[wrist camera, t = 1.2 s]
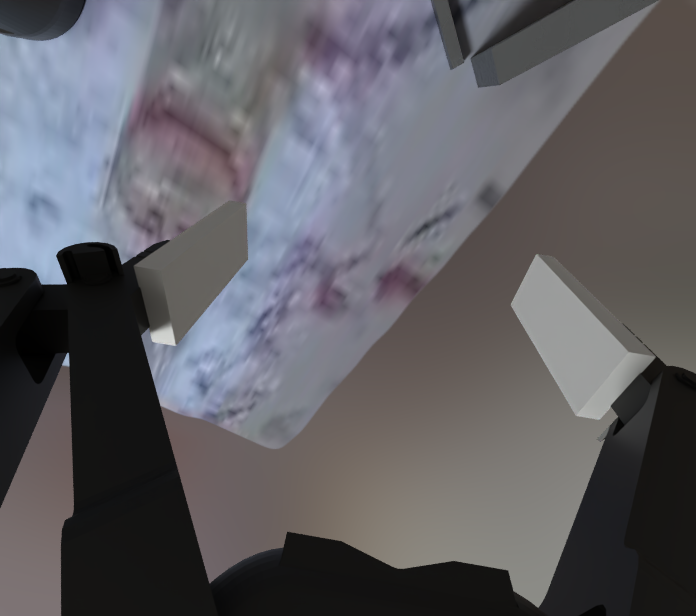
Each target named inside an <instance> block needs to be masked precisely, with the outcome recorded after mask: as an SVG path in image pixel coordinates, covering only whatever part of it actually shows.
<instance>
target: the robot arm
mask: <svg viewBox="0 0 696 616" xmlns="http://www.w3.org/2000/svg"><path fill="white" fill-rule="evenodd" d="M83 4H84V0H0V34H3V35H7V36H11V37H17V38H23V39H29V40H37V41H43V40H50V39H54V38H57V37H59V36H61V35H63V34H64V33H65V32H67V31H68V30H69V29H70V28H71V27H72V26H73V25H74V23H75V22H76V20H77V18H78V17H79V15H80V12H81V10H82V7H83ZM56 257H57V259H58V262H59V264H60V267H61V270H62V272H63V275H64V277H65V280H66V282H67V284H63V285H41V283H40V281H39V278H38V276H37V274H36V273H35V272H34V271H33V270H29V269H26V268H7V269H6V268H1V269H0V508H1V505H2V503H3V501H4V498H5V496H6V494H7V491H8V489H9V487H10V484H11V482H12V479H13V477H14V475H15V473H16V470H17V468H18V465H19V463H20V461H21V459H22V457H23V454H24V452H25V449H26V447H27V445H28V443H29V440H30V438H31V436H32V433H33V431H34V428H35V426H36V424H37V422H38V419H39V417H40V415H41V412H42V410H43V408H44V405H45V403H46V401H47V398H48V396H49V394H50V391H51V389H52V387H53V385H54V382H55V380H56V378H57V375H58V373H59V371H60V368H61V366H62V364H63V361H64V359H65V357H66V354H67V353H69V364H70V392H71V423H72V424H71V425H72V455H73V483H74V484H73V487H74V512H73V516H72V517H70V518H68V519H66V520H65V522H64V526H63V528H62V538H61V616H696V374H695V373H693V372H691V371H688V370H686V369H683V368H679V367H675V366H666V365H665V364H664V363H663V362H662V361H661V360H660V359H659V358H658V357H657V356H656V355H655V354H654V353H653V352H652V351H651V350H650V349H649V348H648V347H647V346H646V345H645V344H642V341H641V340H640V339H639V338H638V337H636V336H634V334H633V333H632V332H631V331H630V330H629V329H628V328H627V327H626V326H625V325H624V324H622V323H621V322H620V321H619V320H618V319H617V318H616V317H615V316H614V315H613V314H612V313H611V312H610V311H608V309H607V308H606V307H604V306H603V305H602V304H601V303H600V302H599V301H598V300H597V299H596V298H595V297H594V296H593V295H592V294H591V293H590V292H589V291H588V290H587V289H586V288H585V287H584V286H583V285H582V284H581V283H580V282H579V281H578V280H577V279H576V278H575V277H574V276H573V275H572V274H571V273H570V272H569V271H567V270H566V269H565V268H564V267H563V266H562V265H561V264H560V263H559V262H558V261H557V260H556V259H555V258H554V257H551V256H546V255H540V254H536V256H535V258H534V260H533V262H532V264H531V266H530V268H529V270H528V272H527V274H526V276H525V278H524V280H523V282H522V284H521V286H520V288H519V290H518V292H517V294H516V296H515V297H514V300H513V302H512V303H511V306H512V308H513V310H514V311H515V313H516V315H517V317H518V318H519V320H520V321H521V323H522V325H523V327H524V328H525V330H526V332H527V333H528V335H529V337H530V338H531V340H532V342H533V344H534V345H535V347H536V349H537V350H538V352H539V354H540V356H541V357H542V359H543V361H544V362H545V364H546V366H547V367H548V369H549V370H550V373H551V374H552V376H553V378H554V379H555V381H556V383H557V384H558V385H559V388H560V389H561V391H562V393H563V395H564V396H565V398H566V399H567V401H568V403H569V405H570V406H571V408H572V410H573V412H574V413H575V415H576V416H581V417H586V418H592V419H598V420H600V419H601V417H602V416H603V415H604V414H605V413H606V412H607V411H608V409H609V408H610V407H612V409H613V410H614V411H615V412H616V414H617V415H618V418H617V419H616V420H615V421H614V422H613V423H612V424H611V425H610V426H609V427H608V428H607V429H606V430H605V431H604V432H603V433H602V434H601V436H600V437H599V438H598V439H597V440H598V441H600V442H601V441H602V440H604V439H605V441H604V444H603V446H602V449H601V451H600V454H599V457H598V459H597V462H596V465H595V467H594V470H593V473H592V475H591V478H590V481H589V483H588V486H587V489H586V491H585V494H584V496H583V499H582V502H581V504H580V507H579V510H578V512H577V515H576V518H575V520H574V523H573V526H572V528H571V531H570V534H569V536H568V539H567V542H566V544H565V547H564V550H563V552H562V555H561V557H560V560H559V563H558V566H557V568H556V571H555V573H554V576H553V579H552V581H551V584H550V586H549V589H548V592H547V594H546V596H545V599H544V600H543V602H542V604H541V605H540V606H539V608H537V607H536V606H535V605H534V604H532V603H531V602H530V601H528V600H527V599H525V598H524V597H522V596H520V595H519V594H517V593H515V592H514V591H513V588H512V584H511V580H510V576H509V573H508V571H507V570H502V569H496V568H491V567H485V566H479V565H474V564H468V563H462V562H457V561H451V562H445V563H438V564H432V565H426V566H419V567H413V568H407V569H397V568H394V567H391V566H390V565H388V564H386V563H383V562H382V561H379V560H378V559H375V558H374V557H371V556H370V555H367V554H365V553H364V552H362V551H359V550H358V549H356V548H354V547H352V546H350V545H348V544H346V543H344V542H342V541H337V540H331V539H325V538H320V537H314V536H308V535H303V534H296V533H291V532H287V535H286V539H285V544H284V548H278V549H271V550H268V551H265V552H261V553H258V554H255V555H253V556H251V557H249V558H247V559H244V560H242V561H241V562H239V563H237V564H236V565H234V566H232V567H231V568H229V569H228V570H226V571H225V572H224V573H222V574H221V575H220V576H218V577H217V578H216V579H215V580H214V581H212V582H211V583H210V584H209V581H208V578H207V574H206V570H205V566H204V563H203V559H202V555H201V552H200V548H199V545H198V541H197V537H196V534H195V530H194V526H193V523H192V519H191V515H190V512H189V508H188V505H187V501H186V497H185V494H184V490H183V486H182V483H181V479H180V475H179V472H178V469H177V465H176V462H175V458H174V454H173V450H172V447H171V443H170V439H169V436H168V432H167V429H166V425H165V421H164V418H163V415H162V410H161V407H160V403H159V399H158V396H157V392H156V388H155V385H154V381H153V378H152V374H151V370H150V367H149V363H148V359H147V356H146V352H145V348H144V345H143V341H142V338H141V335H142V334H143V333H144V332H145V331H146V330H147V329H148V328H149V329H150V333H151V337H152V341H153V342H157V343H162V344H168V345H174V346H176V345H177V344H178V343H179V342H180V340H181V339H182V338H183V337H184V336H185V334H186V333H187V332H188V331H189V330H190V328H191V327H192V326H193V325H194V323H195V322H196V321H197V320H198V319H199V317H200V316H201V315H202V314H203V313H204V311H205V310H206V309H207V308H208V307H209V305H210V304H211V303H212V302H213V301H214V299H215V298H216V297H217V296H218V295H219V293H220V292H221V291H222V290H223V289H224V287H225V286H226V285H227V284H228V283H229V281H230V280H231V279H232V278H233V277H234V275H235V274H236V273H237V272H238V271H239V269H240V268H241V267H242V266H243V265H244V263H245V262H246V261H247V260H248V244H247V212H246V203H241V202H235V201H228V202H226V203H225V204H223V205H222V206H221V207H219V208H218V209H216V210H215V211H213V212H212V213H210V214H209V215H207V216H206V217H204V218H203V219H202V220H200V221H199V222H197V223H196V224H194V225H193V226H191V227H190V228H188V229H187V230H185V231H184V232H182V233H181V234H180V235H178V236H177V237H175V238H174V239H172V240H171V241H170V240H165V241H162V242H159V243H156V244H153V245H152V246H150V247H149V248H147V249H146V250H144V252H141V253H139V254H138V255H137V256H136V257H133V258H132V259H130V260H129V261H127V262H126V263H124V264H122V265H121V261H120V257H119V254H118V250H117V248H116V247H115V246H113V245H111V244H108V243H100V242H87V243H80V244H75V245H71V246H68V247H65V248H64V249H62V250H60V251H59V252H58V253H57V255H56Z"/></svg>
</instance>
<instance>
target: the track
mask: <svg viewBox="0 0 696 616" xmlns="http://www.w3.org/2000/svg"><path fill="white" fill-rule="evenodd" d="M656 1H658V0H572V1H570V2H568V3H566V4H565V5H563V6H561V7H559V8H558V9H556V10H554V11H552V12H551V13H549V14H547V15H546V16H544V17H542V18H540V19H539V20H537V21H535V22H533V23H532V24H530V25H528V26H526V27H525V28H523V29H521V30H519V31H518V32H516V33H514V34H512V35H511V36H509V37H507V38H505V39H504V40H502V41H500V42H499V43H497V44H495V45H493V46H492V47H490V48H488V49H486V50H485V51H483V52H481V53H479V54H478V55H476V56H474V57H472V58H471V62H472V66H473V70H474V73H475V77H476V81H477V85H478V88H479V87H487V86H496V85H501V84H503V83H504V82H506V81H508V80H510V79H512V78H514V77H516V76H518V75H519V74H521V73H523V72H525V71H527V70H529V69H531V68H533V67H534V66H536V65H538V64H540V63H542V62H544V61H546V60H548V59H549V58H551V57H553V56H555V55H557V54H559V53H561V52H563V51H564V50H566V49H568V48H570V47H572V46H574V45H576V44H578V43H579V42H581V41H583V40H585V39H587V38H589V37H591V36H593V35H594V34H596V33H598V32H600V31H602V30H604V29H606V28H608V27H609V26H611V25H613V24H615V23H617V22H619V21H621V20H623V19H624V18H626V17H628V16H630V15H632V14H634V13H636V12H638V11H639V10H641V9H643V8H645V7H647V6H649V5H651V4H653V3H654V2H656ZM431 3H432V7H433V10H434V14H435V17H436V21H437V24H438V28H439V31H440V35H441V38H442V42H443V45H444V49H445V52H446V56H447V59H448V63H449V66H450V70H452V69H454V68H455V67H457V66H459V65H461V64H462V63H464V60H463V56H462V52H461V48H460V45H459V41H458V37H457V33H456V30H455V26H454V22H453V18H452V15H451V11H450V7H449V3H448V0H431Z"/></svg>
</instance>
